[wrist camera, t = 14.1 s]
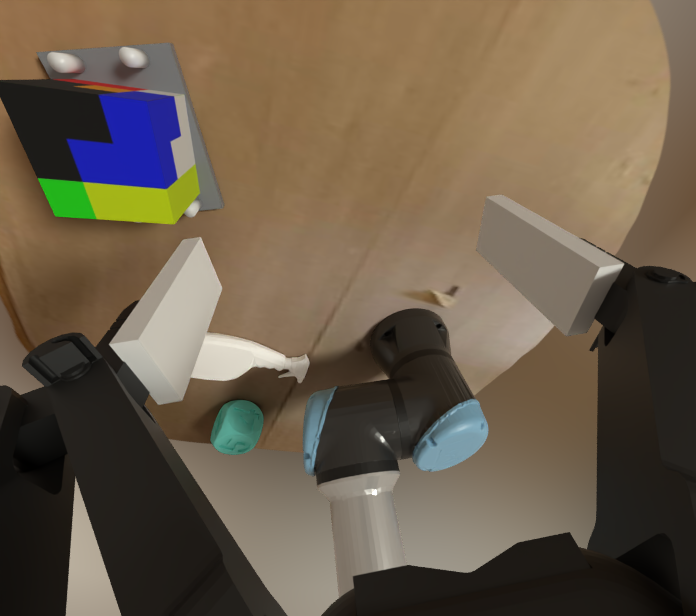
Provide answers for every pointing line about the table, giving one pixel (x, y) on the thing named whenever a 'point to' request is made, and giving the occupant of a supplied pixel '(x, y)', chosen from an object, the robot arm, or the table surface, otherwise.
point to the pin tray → (146, 73)
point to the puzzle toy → (106, 148)
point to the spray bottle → (242, 359)
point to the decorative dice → (237, 427)
